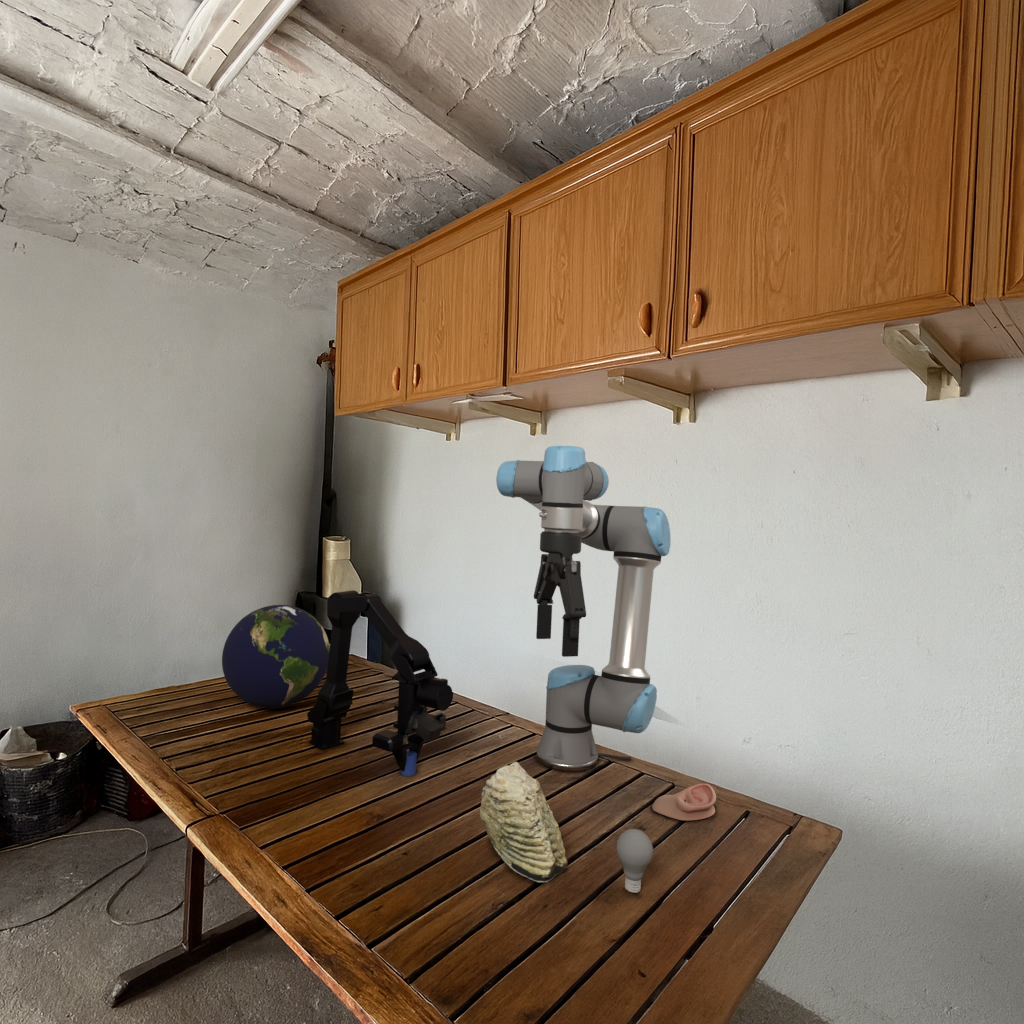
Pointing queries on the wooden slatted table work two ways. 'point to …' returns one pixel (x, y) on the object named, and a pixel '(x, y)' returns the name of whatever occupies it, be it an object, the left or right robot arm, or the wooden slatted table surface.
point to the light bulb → (634, 857)
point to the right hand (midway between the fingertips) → (555, 647)
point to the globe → (275, 656)
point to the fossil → (522, 824)
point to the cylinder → (410, 764)
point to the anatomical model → (687, 803)
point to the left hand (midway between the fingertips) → (407, 767)
